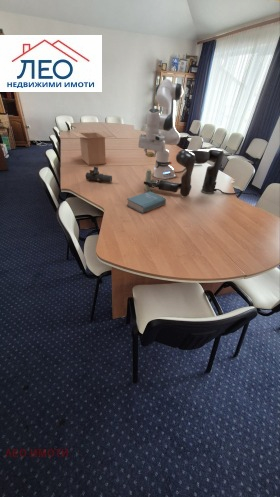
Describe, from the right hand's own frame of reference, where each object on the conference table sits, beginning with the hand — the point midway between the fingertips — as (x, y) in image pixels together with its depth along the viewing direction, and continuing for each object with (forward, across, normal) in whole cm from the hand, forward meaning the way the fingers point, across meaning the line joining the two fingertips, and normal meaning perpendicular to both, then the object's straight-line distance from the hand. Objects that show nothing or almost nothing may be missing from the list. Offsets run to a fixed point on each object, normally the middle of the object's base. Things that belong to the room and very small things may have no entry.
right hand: (144, 181), depth 178 cm
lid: (-3, 0, -22) cm, 22 cm away
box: (+76, -47, +6) cm, 89 cm away
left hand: (-3, 0, -20) cm, 20 cm away
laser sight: (+41, +3, +6) cm, 42 cm away
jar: (-3, 0, +6) cm, 7 cm away
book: (-12, +28, +6) cm, 31 cm away
